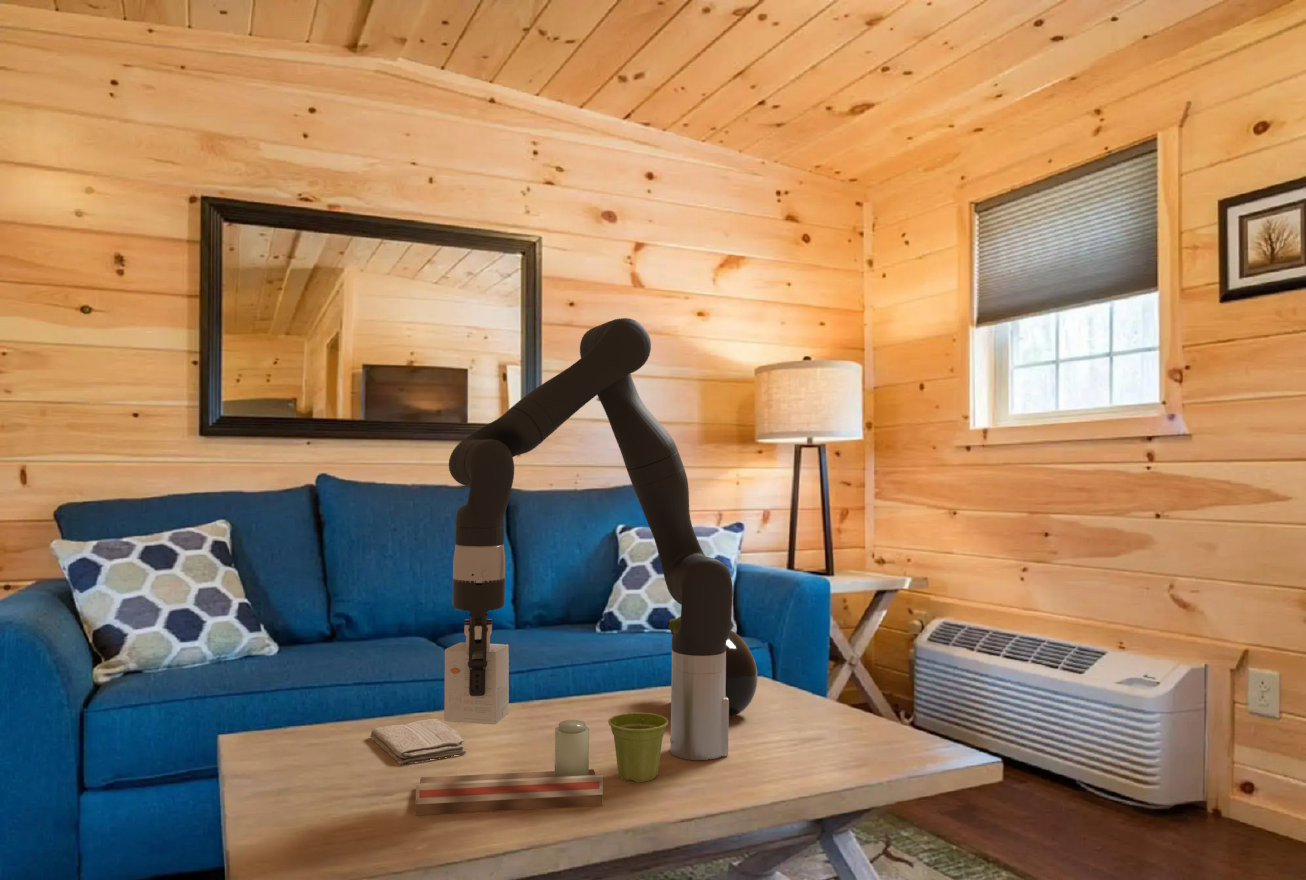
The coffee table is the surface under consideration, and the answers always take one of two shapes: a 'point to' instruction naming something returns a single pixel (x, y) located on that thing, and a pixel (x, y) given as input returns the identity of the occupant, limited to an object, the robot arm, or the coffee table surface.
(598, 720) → the coffee table surface
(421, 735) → the washcloth
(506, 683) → the small box
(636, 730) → the plant pot
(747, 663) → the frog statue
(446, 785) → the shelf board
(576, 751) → the sage jar
